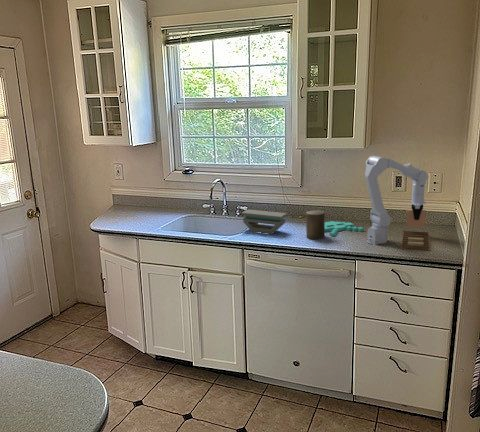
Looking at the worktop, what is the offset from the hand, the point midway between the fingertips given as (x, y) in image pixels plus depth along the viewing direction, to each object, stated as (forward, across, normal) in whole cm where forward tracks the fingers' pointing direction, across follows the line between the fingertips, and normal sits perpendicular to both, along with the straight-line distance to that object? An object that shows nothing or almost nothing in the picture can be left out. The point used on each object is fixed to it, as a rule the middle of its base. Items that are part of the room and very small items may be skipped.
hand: (416, 219), depth 229 cm
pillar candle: (+10, -10, +50) cm, 52 cm away
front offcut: (+9, -20, 0) cm, 21 cm away
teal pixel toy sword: (+10, +6, +41) cm, 43 cm away
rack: (+10, -10, 0) cm, 14 cm away
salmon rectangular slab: (+4, 0, 0) cm, 4 cm away
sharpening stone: (+10, -7, +80) cm, 81 cm away
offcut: (+9, -13, 0) cm, 16 cm away
